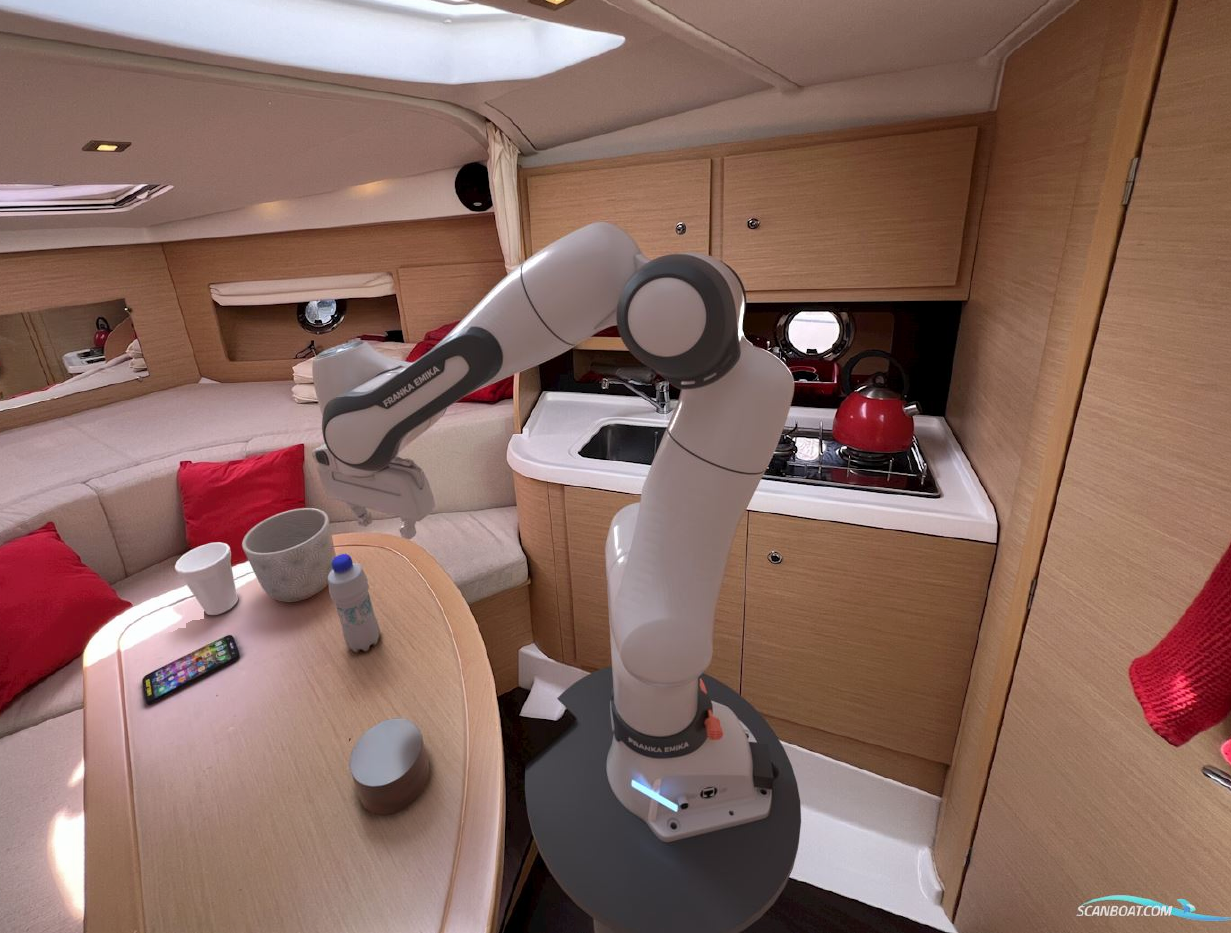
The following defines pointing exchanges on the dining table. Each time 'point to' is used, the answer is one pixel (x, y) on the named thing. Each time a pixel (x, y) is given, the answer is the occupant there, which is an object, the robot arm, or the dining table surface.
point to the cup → (209, 576)
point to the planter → (291, 553)
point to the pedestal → (389, 766)
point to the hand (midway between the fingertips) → (387, 529)
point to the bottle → (353, 603)
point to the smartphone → (189, 669)
